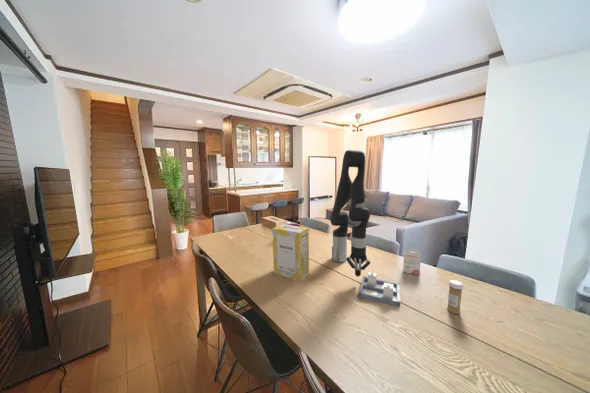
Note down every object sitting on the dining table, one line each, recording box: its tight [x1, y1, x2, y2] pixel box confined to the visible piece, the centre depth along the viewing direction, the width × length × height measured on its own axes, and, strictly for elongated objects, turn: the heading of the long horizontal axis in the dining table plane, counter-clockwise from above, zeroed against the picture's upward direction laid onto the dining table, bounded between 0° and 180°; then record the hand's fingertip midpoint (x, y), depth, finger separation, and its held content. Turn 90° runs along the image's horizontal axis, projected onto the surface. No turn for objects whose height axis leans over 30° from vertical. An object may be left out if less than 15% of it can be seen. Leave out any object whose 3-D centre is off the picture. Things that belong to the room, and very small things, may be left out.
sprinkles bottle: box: [446, 279, 464, 315], centre depth 91 cm, size 5×5×14 cm
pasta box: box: [272, 223, 310, 282], centre depth 125 cm, size 18×10×28 cm, turn 60°
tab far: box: [367, 271, 378, 286], centre depth 111 cm, size 4×4×6 cm
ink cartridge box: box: [402, 248, 422, 276], centre depth 126 cm, size 9×5×15 cm, turn 62°
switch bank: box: [357, 276, 401, 308], centre depth 106 cm, size 18×17×2 cm
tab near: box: [383, 283, 393, 299], centre depth 100 cm, size 4×4×6 cm
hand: (357, 275), depth 114 cm, fingers closed
